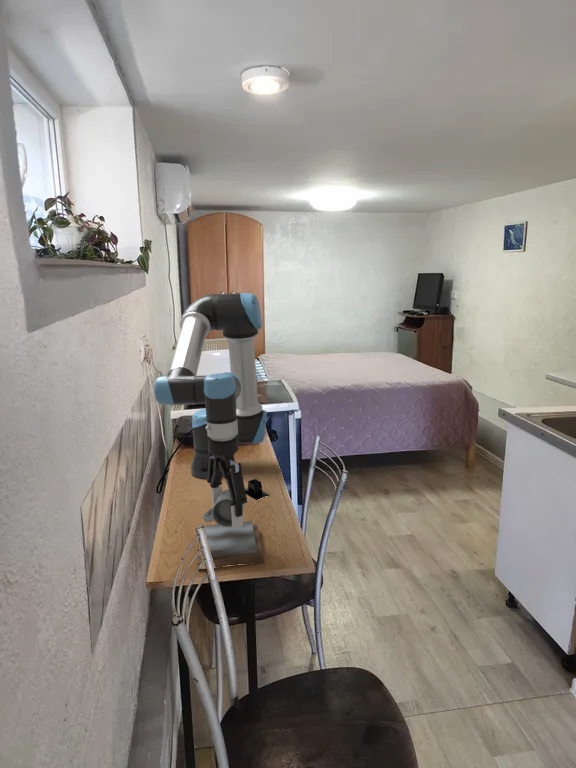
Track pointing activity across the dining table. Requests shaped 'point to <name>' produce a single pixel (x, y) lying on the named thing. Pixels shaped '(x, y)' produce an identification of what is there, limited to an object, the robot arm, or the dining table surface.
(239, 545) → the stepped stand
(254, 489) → the black angular block
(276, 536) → the dining table surface
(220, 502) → the ceramic mug
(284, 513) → the dining table surface
